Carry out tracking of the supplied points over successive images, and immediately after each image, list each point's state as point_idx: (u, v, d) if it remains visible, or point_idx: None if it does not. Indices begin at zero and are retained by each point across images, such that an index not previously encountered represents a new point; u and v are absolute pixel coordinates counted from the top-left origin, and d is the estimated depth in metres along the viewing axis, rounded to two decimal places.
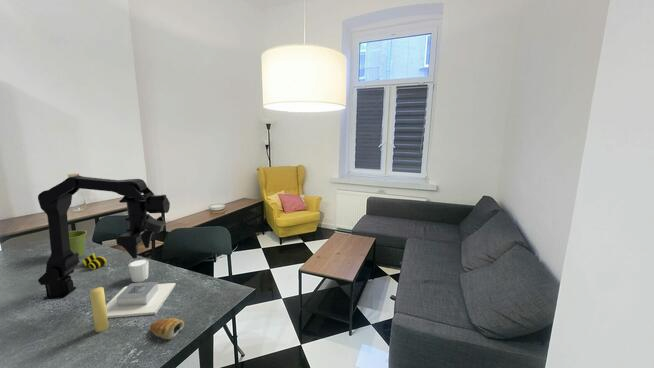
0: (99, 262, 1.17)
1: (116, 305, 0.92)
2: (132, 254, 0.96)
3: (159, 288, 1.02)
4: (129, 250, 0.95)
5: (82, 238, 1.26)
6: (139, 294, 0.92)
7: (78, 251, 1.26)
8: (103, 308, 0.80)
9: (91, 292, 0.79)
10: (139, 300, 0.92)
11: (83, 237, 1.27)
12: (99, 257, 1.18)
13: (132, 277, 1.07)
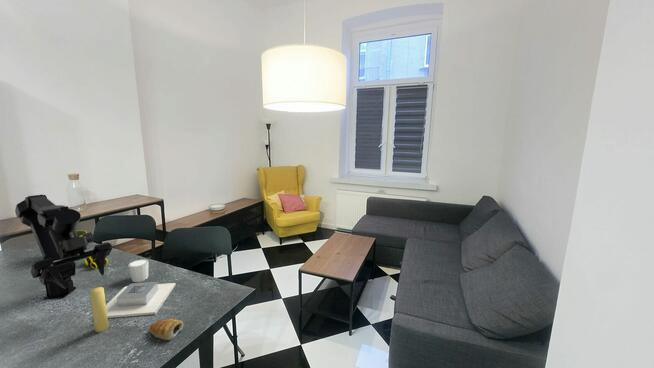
0: None
1: (116, 305, 0.92)
2: (59, 284, 0.79)
3: (159, 288, 1.02)
4: (55, 280, 0.80)
5: None
6: (139, 294, 0.92)
7: None
8: (103, 308, 0.80)
9: (91, 292, 0.79)
10: (139, 300, 0.92)
11: None
12: None
13: (132, 277, 1.07)
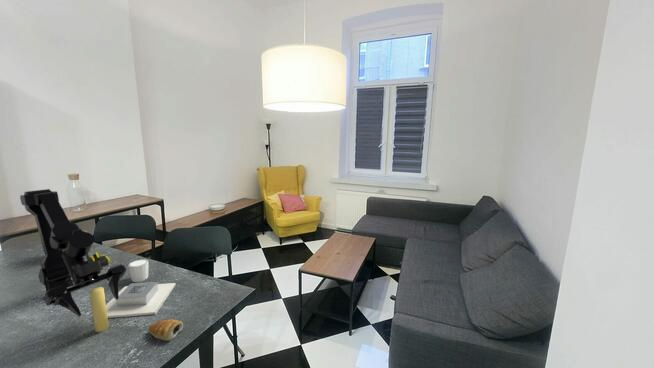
0: None
1: (116, 305, 0.92)
2: (73, 311, 0.76)
3: (159, 288, 1.02)
4: (69, 308, 0.77)
5: None
6: (139, 294, 0.92)
7: None
8: (103, 308, 0.80)
9: (91, 292, 0.79)
10: (139, 300, 0.92)
11: None
12: None
13: (132, 277, 1.07)
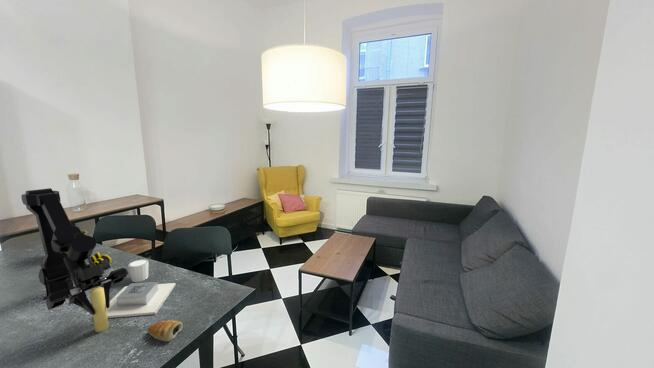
0: None
1: (116, 305, 0.92)
2: (88, 310, 0.79)
3: (159, 288, 1.02)
4: (83, 306, 0.79)
5: None
6: (139, 294, 0.92)
7: None
8: (103, 308, 0.80)
9: (91, 292, 0.79)
10: (139, 300, 0.92)
11: None
12: (104, 255, 1.20)
13: (132, 277, 1.07)
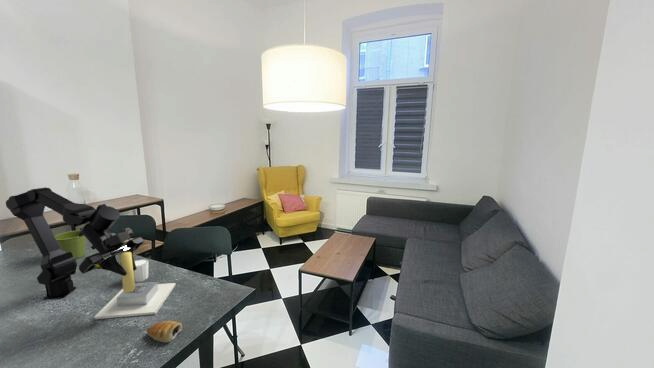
0: None
1: (116, 305, 0.92)
2: (119, 272, 0.87)
3: (159, 288, 1.02)
4: (113, 269, 0.87)
5: (82, 238, 1.26)
6: (139, 294, 0.92)
7: (78, 251, 1.26)
8: (132, 270, 0.90)
9: (121, 255, 0.87)
10: (139, 300, 0.92)
11: (83, 237, 1.27)
12: None
13: None
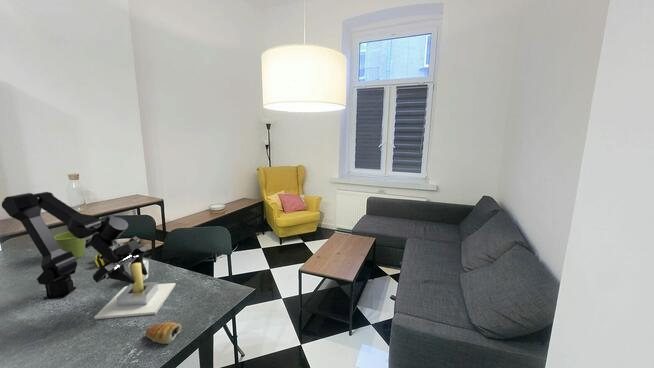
0: (103, 261, 1.18)
1: (116, 305, 0.92)
2: (128, 280, 0.91)
3: (159, 288, 1.02)
4: (122, 279, 0.91)
5: (82, 238, 1.26)
6: (139, 294, 0.92)
7: (78, 251, 1.26)
8: (142, 279, 0.95)
9: (132, 266, 0.93)
10: (139, 300, 0.92)
11: None
12: None
13: None
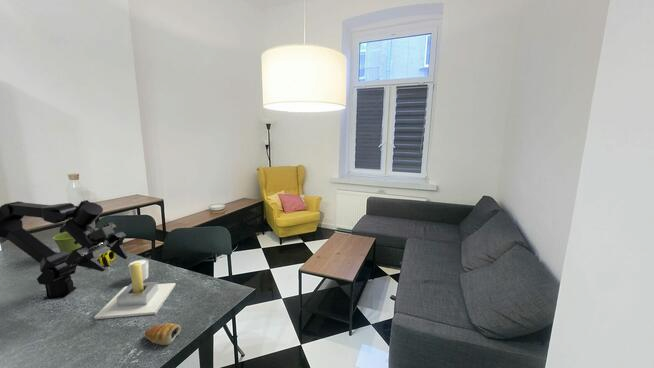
0: (102, 262, 1.18)
1: (116, 305, 0.92)
2: (97, 268, 0.89)
3: (159, 288, 1.02)
4: (91, 266, 0.89)
5: None
6: (139, 294, 0.92)
7: None
8: (142, 279, 0.95)
9: (133, 266, 0.93)
10: (139, 300, 0.92)
11: None
12: (105, 256, 1.19)
13: None
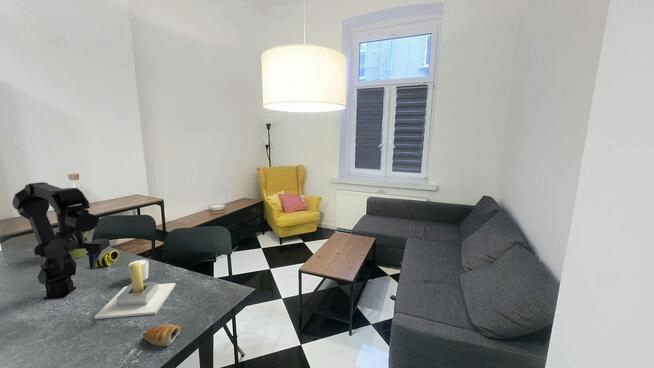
0: (101, 262, 1.18)
1: (116, 305, 0.92)
2: None
3: (159, 288, 1.02)
4: None
5: None
6: (139, 294, 0.92)
7: (78, 251, 1.26)
8: (142, 279, 0.95)
9: (132, 266, 0.93)
10: (139, 300, 0.92)
11: None
12: (104, 256, 1.19)
13: None
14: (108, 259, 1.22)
